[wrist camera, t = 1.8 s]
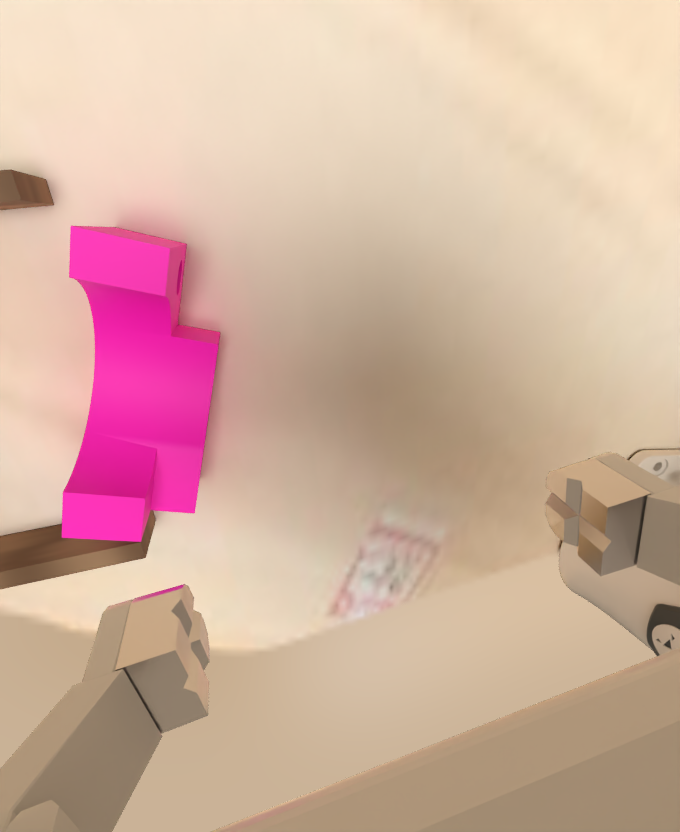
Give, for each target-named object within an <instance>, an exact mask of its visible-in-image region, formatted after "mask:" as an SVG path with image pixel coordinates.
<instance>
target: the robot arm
mask: <svg viewBox="0 0 680 832" xmlns="http://www.w3.org/2000/svg"><path fill="white" fill-rule="evenodd" d="M546 487H547V489H548V490H549V491H550V492H551V495H550V497H549V498H548V500H547V501H546V517H547V520H548V522H549V525H550V527H551V529H552V530H553V532H554V533H555V534H556V535H557V536H558V537H559V538H560V539H561V540H562V541H563V542H562V545H561V549H560V554H559V570H560V574H561V577H562V580H563V581H564V583H565V584H566V586H567V587H568V588H569V589H570V590H571V591H573V592H574V593H576V594H578V595H579V596H581V597H583V598H584V599H586V600H588V601H589V602H591V603H592V604H594V605H595V606H596V607H598V608H599V609H601V610H602V611H603V612H605V613H606V614H608V615H609V616H610V617H612V618H613V619H614V620H615V621H617V622H618V623H619V624H620V625H622V626H623V627H624V628H625V629H627V630H628V631H629V632H630V633H632V634H633V635H634V636H635V637H637V638H638V639H639V640H640V641H642V642H643V643H644V644H645V645H646V646H648V647H649V648H650V649H651V650H653V651H654V652H655V654H656V655H657V657H654V658H652V659H649V660H647V661H644V662H642V663H639V664H637V665H634V666H631V667H629V668H626V669H624V670H621V671H619V672H616V673H613V674H611V675H609V676H606V677H603V678H601V679H598V680H596V681H593V682H591V683H588V684H586V685H583V686H580V687H578V688H575V689H573V690H570V691H568V692H565V693H563V694H560V695H557V696H555V697H553V698H550V699H547V700H545V701H543V702H540V703H537V704H535V705H532V706H530V707H527V708H525V709H522V710H519V711H517V712H514V713H512V714H509V715H507V716H504V717H502V718H499V719H496V720H494V721H491V722H489V723H487V724H484V725H482V726H479V727H476V728H474V729H471V730H469V731H466V732H463V733H461V734H458V735H456V736H453V737H451V738H448V739H445V740H443V741H440V742H438V743H435V744H433V745H430V746H428V747H425V748H422V749H420V750H417V751H415V752H412V753H410V754H407V755H405V756H402V757H400V758H397V759H395V760H392V761H389V762H387V763H384V764H382V765H379V766H377V767H374V768H371V769H369V770H366V771H364V772H361V773H359V774H356V775H354V776H351V777H348V778H346V779H344V780H341V781H338V782H336V783H333V784H331V785H328V786H325V787H323V788H320V789H318V790H315V791H313V792H310V793H308V794H305V795H303V796H300V797H297V798H295V799H293V800H290V801H287V802H285V803H282V804H280V805H277V806H274V807H272V808H269V809H267V810H264V811H262V812H259V813H257V814H254V815H252V816H249V817H246V818H244V819H241V820H239V821H236V822H234V823H231V824H229V825H226V826H224V827H221V828H218V829H216V830H214V831H211V832H680V449H678V450H643V451H640V452H638V453H636V454H635V455H634V456H633V457H632V458H631V459H630V460H627V459H625V458H624V457H622V456H620V455H618V454H617V453H612V452H607V453H604V454H601V455H598V456H595V457H592V458H589V459H588V460H584V461H581V462H578V463H575V464H571V465H568V466H565V467H562V468H559V469H556V470H553V471H549V473H548V475H547V478H546ZM193 604H194V597H193V595H192V593H191V591H190V589H189V587H188V586H187V585H185V584H183V585H180V586H176V587H173V588H169V589H166V590H162V591H159V592H155V593H152V594H148V595H145V596H141V597H138V598H135V599H133V600H129V601H125V602H122V603H118V604H115V605H112V606H108V607H107V609H106V610H105V611H104V612H103V614H102V618H101V621H100V624H99V628H98V631H97V634H96V637H95V641H94V644H93V647H92V651H91V654H90V657H89V661H88V664H87V667H86V670H85V674H84V677H83V680H82V683H79V684H76V685H74V686H72V687H71V689H70V690H69V691H68V692H67V693H66V694H65V695H64V697H63V698H62V699H61V700H60V701H59V702H58V704H57V705H56V706H55V707H54V708H53V709H52V710H51V711H50V713H49V714H48V715H47V716H46V717H45V718H44V719H43V721H42V722H41V723H40V724H39V725H38V726H37V728H36V729H35V730H34V731H33V732H32V733H31V734H30V736H29V737H28V738H27V739H26V740H25V741H24V742H23V743H22V744H21V746H20V747H19V748H18V749H17V750H16V751H15V753H14V754H13V755H12V756H11V757H10V758H9V759H8V760H7V762H6V763H5V764H4V765H3V766H2V767H1V769H0V832H112V831H113V829H114V827H115V825H116V823H117V821H118V819H119V818H120V816H121V814H122V812H123V810H124V808H125V806H126V804H127V802H128V800H129V799H130V797H131V795H132V793H133V791H134V789H135V787H136V785H137V783H138V782H139V780H140V778H141V776H142V774H143V772H144V770H145V768H146V766H147V764H148V763H149V760H150V759H151V757H152V755H153V753H154V751H155V749H156V747H157V745H158V744H159V742H160V740H161V738H162V735H161V733H164V732H166V731H169V730H172V729H174V728H177V727H180V726H182V725H185V724H187V723H190V722H193V721H195V720H198V719H200V718H203V717H205V716H208V699H209V681H208V679H207V677H206V675H205V672H204V669H205V668H206V666H207V664H208V663H209V651H210V648H209V641H208V633H207V629H206V626H205V622H204V620H203V618H202V615H201V613H199V612H197V611H195V610H193Z"/></svg>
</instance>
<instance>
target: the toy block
mask: <svg viewBox="0 0 680 832" xmlns="http://www.w3.org/2000/svg"><path fill="white" fill-rule="evenodd" d="M186 246H187V244H185V243H180V242H176V241H172V240H167V239H163V238H159V237H155V236H150V235H146V234H142V233H137V232H133V231H129V230H124V229H120V228H116V227H91V226H71V235H70V270H69V277H70V278H74V279H75V280H77V281H78V282H79V283H80V284H81V285H82V287H83V288H84V290H85V292H86V294H87V297H88V299H89V303H90V306H91V311H92V316H93V323H94V333H95V369H94V382H93V391H92V399H91V405H90V411H89V416H88V421H87V426H86V430H85V434H84V438H83V442H82V446H81V449H80V452H79V455H78V459H77V461H76V464H75V467H74V470H73V472H72V475H71V477H70V479H69V481H68V483H67V486H66V487H65V489H64V491H63V510H62V538H77V539H95V540H114V541H133V542H141V540H142V537H143V534H144V530H145V527H146V524H147V520H148V517H149V514H150V510H155V511H169V512H183V513H195V507H196V500H197V493H198V486H199V479H200V472H201V465H202V458H203V451H204V444H205V437H206V429H207V422H208V415H209V408H210V401H211V394H212V387H213V380H214V373H215V366H216V359H217V352H218V345H219V338H220V332H216V331H211V330H205V329H200V328H194V327H189V326H183V325H178V319H179V310H180V301H181V291H182V282H183V273H184V264H185V255H186Z"/></svg>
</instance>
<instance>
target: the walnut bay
mask: <svg viewBox="0 0 680 832" xmlns="http://www.w3.org/2000/svg"><path fill="white" fill-rule="evenodd" d="M49 205H54V204H53V201H52V197H51V194H50V191H49V188H48V185H47V182H46V179H43V178H39V177H35V176H32V175H28V174H25V173H21V172H17V171H14V170H0V210H6V209H17V208H27V207H38V206H49ZM155 521H156V520H155V517H154V514H153V511H152V510H150V514H149V517H148V520H147V524H146V527H145V530H144V534H143V537H142V540H141V542H133V541H114V540H95V539H77V538H62V524H60V525H55V526H50V527H45V528H40V529H35V530H30V531H25V532H20V533H15V534H10V535H5V536H0V589H4V588H9V587H13V586H18V585H22V584H27V583H32V582H36V581H41V580H45V579H50V578H55V577H59V576H64V575H69V574H73V573H78V572H82V571H87V570H92V569H96V568H101V567H105V566H110V565H115V564H119V563H124V562H128V561H133V560H138V559H142V558H146V554H147V551H148V547H149V543H150V539H151V536H152V532H153V528H154V525H155Z"/></svg>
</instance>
